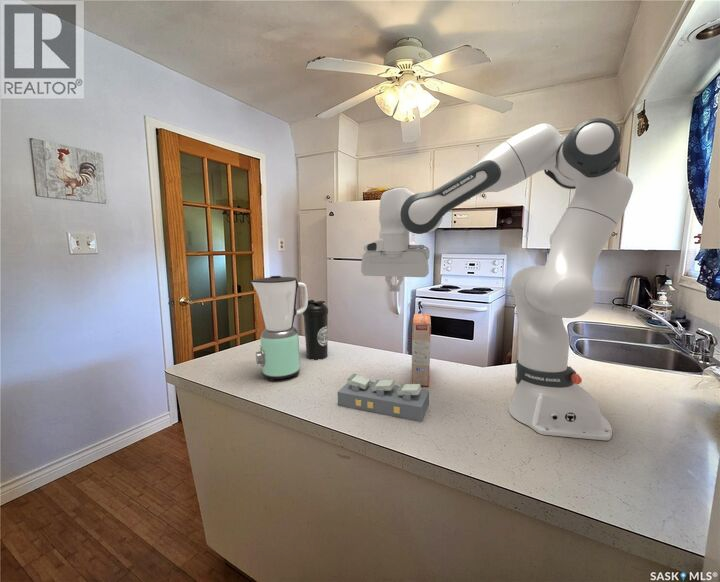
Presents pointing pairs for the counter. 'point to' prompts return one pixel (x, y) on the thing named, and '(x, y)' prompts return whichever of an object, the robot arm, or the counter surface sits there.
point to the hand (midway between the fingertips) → (394, 291)
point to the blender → (279, 326)
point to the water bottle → (316, 330)
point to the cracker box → (421, 349)
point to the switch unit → (385, 401)
